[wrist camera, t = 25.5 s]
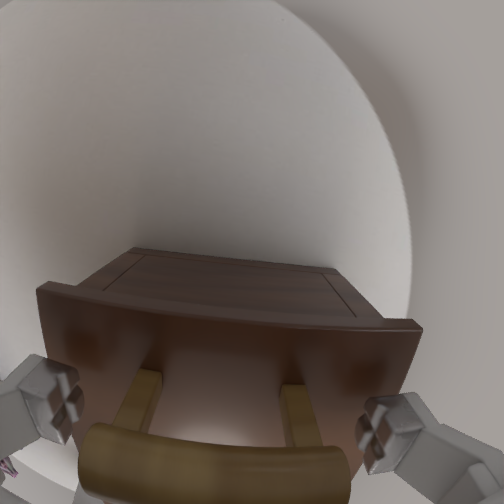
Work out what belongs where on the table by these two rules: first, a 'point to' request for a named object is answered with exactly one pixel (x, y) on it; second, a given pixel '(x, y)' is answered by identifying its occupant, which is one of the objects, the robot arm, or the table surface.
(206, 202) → the table surface
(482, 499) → the robot arm
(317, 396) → the lid
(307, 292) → the chest
